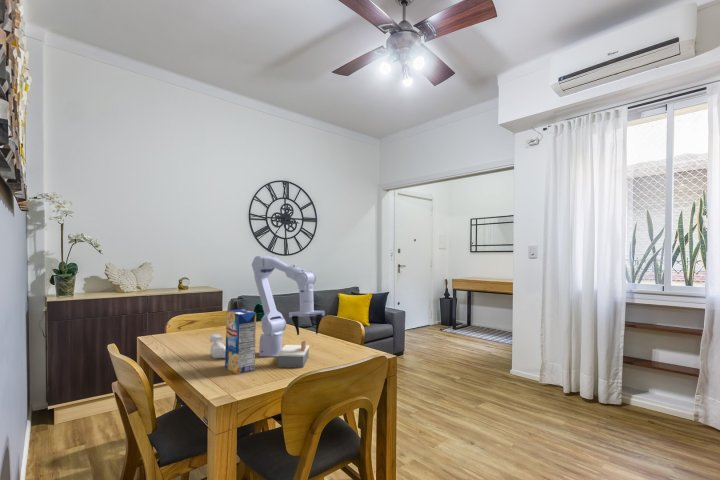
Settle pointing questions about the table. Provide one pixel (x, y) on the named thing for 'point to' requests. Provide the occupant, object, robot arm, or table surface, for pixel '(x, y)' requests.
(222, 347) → the bust
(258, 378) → the table surface
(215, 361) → the table surface
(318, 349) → the table surface
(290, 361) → the carton
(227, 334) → the beverage box
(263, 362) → the table surface
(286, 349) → the carton lid
